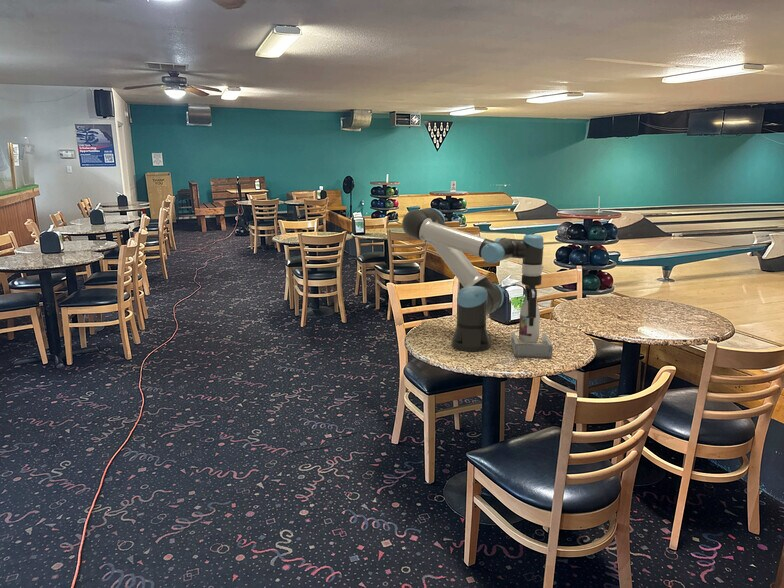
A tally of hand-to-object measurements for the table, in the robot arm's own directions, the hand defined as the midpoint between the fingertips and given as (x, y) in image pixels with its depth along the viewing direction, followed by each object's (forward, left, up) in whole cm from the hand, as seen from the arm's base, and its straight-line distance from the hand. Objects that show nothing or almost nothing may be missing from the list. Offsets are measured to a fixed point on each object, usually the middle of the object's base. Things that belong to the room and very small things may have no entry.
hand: (528, 330), depth 210 cm
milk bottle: (0, 0, -4) cm, 4 cm away
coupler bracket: (0, -6, -6) cm, 9 cm away
